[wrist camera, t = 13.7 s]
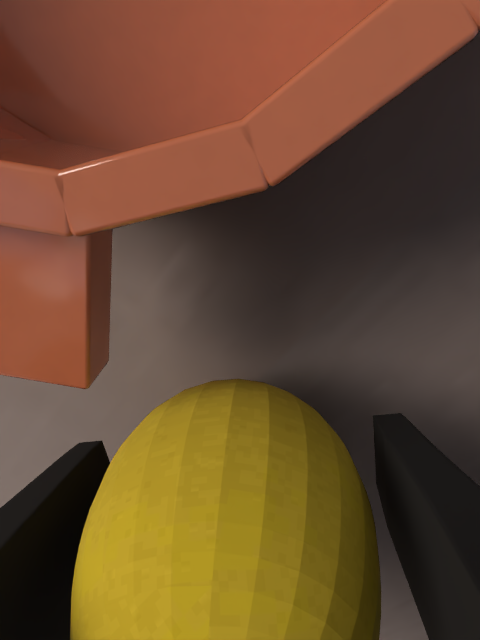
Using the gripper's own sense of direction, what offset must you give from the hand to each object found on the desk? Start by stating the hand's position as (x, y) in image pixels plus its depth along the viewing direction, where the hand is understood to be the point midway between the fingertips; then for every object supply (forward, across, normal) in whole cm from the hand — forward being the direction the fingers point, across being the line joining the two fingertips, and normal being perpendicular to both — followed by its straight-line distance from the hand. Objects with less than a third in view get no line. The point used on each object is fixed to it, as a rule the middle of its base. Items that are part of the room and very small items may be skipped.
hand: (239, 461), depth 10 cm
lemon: (+2, 0, 0) cm, 2 cm away
